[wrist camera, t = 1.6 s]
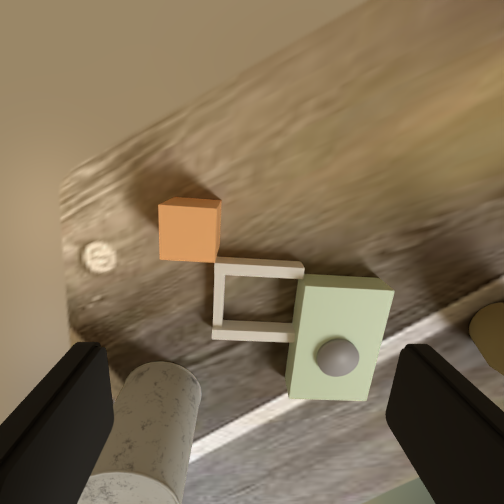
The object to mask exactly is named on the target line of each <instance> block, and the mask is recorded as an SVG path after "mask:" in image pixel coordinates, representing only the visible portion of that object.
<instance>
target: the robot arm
mask: <svg viewBox="0 0 504 504" xmlns="http://www.w3.org/2000/svg"><path fill="white" fill-rule="evenodd" d="M386 421H387V423H388V426H389V427H390V429H391V431H392V432H393V434H394V436H395V437H396V439H397V441H398V442H399V444H400V445H401V447H402V449H403V450H404V452H405V454H406V455H407V457H408V459H409V460H410V462H411V464H412V465H413V467H414V469H415V470H416V472H417V474H418V475H419V477H420V479H421V480H422V482H423V483H424V485H425V487H426V488H427V490H428V492H429V493H430V495H431V497H432V498H433V500H434V502H435V503H436V504H504V412H503V411H502V410H501V409H500V408H499V407H498V406H497V405H495V404H494V403H493V402H492V401H491V400H490V399H489V398H488V397H486V396H485V395H484V394H483V393H482V392H481V391H480V390H479V389H478V388H476V387H475V386H474V385H473V384H472V383H471V382H470V381H469V380H467V379H466V378H465V377H464V376H463V375H462V374H461V373H460V372H459V371H457V370H456V369H455V368H454V367H453V366H452V365H451V364H450V363H449V362H447V361H446V360H445V359H444V358H443V357H442V356H441V355H440V354H438V353H437V352H436V351H435V350H434V349H433V348H432V347H431V346H429V345H427V344H407V345H406V346H405V348H404V349H402V350H401V352H400V356H399V360H398V364H397V368H396V372H395V376H394V380H393V385H392V389H391V393H390V397H389V401H388V405H387V409H386ZM113 423H114V410H113V402H112V393H111V385H110V377H109V368H108V360H107V351H106V348H104V347H101V345H100V343H98V342H77V343H75V344H74V345H73V346H72V347H71V349H70V350H69V351H68V352H67V353H66V354H65V355H64V356H63V357H62V358H61V359H60V361H59V362H58V363H57V364H56V365H55V366H54V367H53V368H52V369H51V370H50V371H49V373H48V374H47V375H46V376H45V377H44V378H43V379H42V380H41V381H40V382H39V384H38V385H37V386H36V387H35V388H34V389H33V390H32V391H31V392H30V393H29V394H28V396H27V397H26V398H25V399H24V400H23V401H22V402H21V403H20V404H19V405H18V406H17V408H16V409H15V410H14V411H13V412H12V413H11V414H10V415H9V416H8V417H7V418H6V420H5V421H4V422H3V423H2V424H1V425H0V504H77V503H78V501H79V499H80V497H81V494H82V492H83V490H84V488H85V486H86V484H87V482H88V479H89V477H90V475H91V473H92V471H93V469H94V467H95V465H96V462H97V460H98V458H99V456H100V454H101V452H102V450H103V448H104V445H105V443H106V441H107V439H108V437H109V435H110V433H111V430H112V427H113Z"/></svg>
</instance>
